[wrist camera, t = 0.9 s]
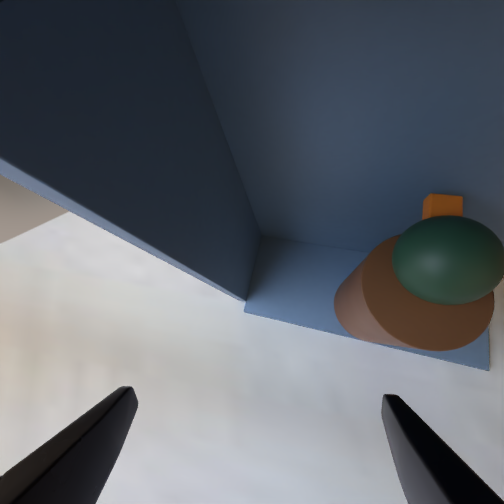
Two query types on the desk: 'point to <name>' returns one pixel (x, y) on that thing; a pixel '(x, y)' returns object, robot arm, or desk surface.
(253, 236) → the cubby
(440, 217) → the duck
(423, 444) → the robot arm
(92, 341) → the desk surface
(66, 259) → the desk surface
